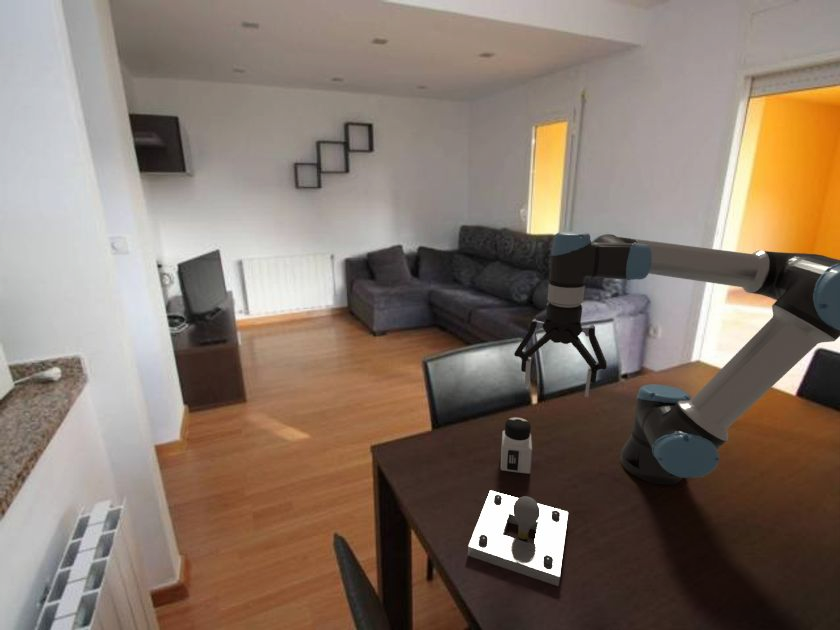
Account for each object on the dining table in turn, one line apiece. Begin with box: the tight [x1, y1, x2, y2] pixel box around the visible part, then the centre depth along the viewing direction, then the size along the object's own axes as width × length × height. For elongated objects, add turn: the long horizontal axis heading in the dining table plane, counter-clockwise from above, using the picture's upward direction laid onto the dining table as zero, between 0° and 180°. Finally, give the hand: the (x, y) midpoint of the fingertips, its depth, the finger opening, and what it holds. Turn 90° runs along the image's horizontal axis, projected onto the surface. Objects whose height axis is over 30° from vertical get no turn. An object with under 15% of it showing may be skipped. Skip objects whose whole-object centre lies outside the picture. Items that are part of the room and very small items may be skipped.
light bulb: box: [513, 495, 540, 540], centre depth 91 cm, size 5×6×10 cm
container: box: [500, 417, 533, 474], centre depth 115 cm, size 8×8×13 cm
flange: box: [467, 490, 569, 587], centre depth 92 cm, size 18×18×3 cm
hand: (556, 389), depth 101 cm, fingers open, 13 cm apart
